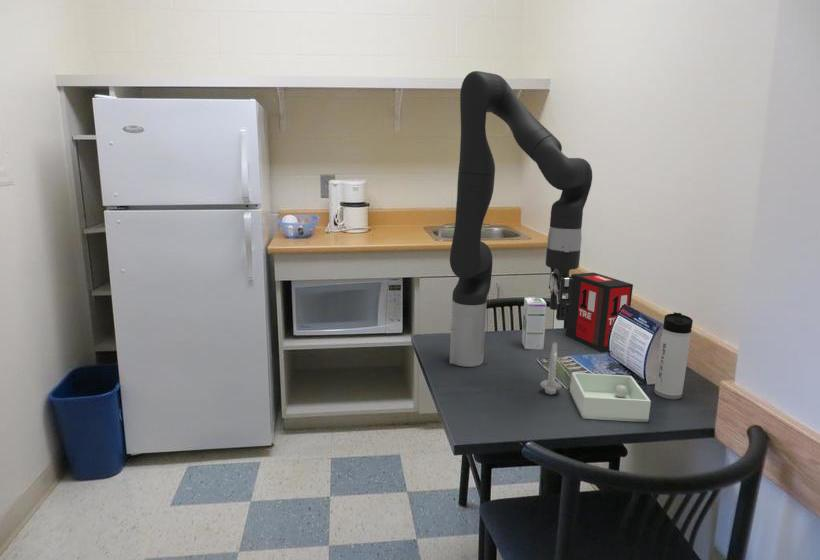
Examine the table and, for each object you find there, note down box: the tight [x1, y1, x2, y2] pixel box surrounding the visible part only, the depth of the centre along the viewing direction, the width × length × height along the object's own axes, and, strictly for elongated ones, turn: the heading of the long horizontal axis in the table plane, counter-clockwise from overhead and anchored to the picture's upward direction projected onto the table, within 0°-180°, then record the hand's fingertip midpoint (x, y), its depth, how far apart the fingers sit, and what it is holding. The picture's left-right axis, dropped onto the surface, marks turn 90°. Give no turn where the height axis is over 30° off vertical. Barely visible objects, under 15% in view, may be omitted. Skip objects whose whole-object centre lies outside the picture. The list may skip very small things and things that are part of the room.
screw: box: [540, 341, 562, 396], centre depth 139 cm, size 13×5×5 cm
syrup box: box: [521, 296, 547, 351], centre depth 171 cm, size 6×6×14 cm
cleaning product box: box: [565, 272, 634, 354], centre depth 176 cm, size 16×9×20 cm, turn 24°
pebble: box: [615, 385, 628, 398], centre depth 138 cm, size 3×3×3 cm
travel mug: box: [653, 312, 694, 400], centre depth 140 cm, size 6×7×20 cm
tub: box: [569, 372, 652, 423], centre depth 134 cm, size 14×14×5 cm
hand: (557, 314), depth 136 cm, fingers open, 8 cm apart
